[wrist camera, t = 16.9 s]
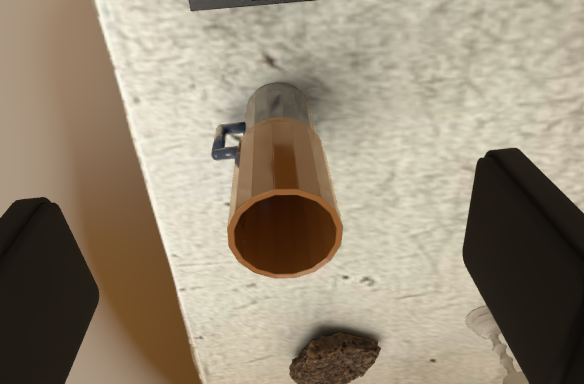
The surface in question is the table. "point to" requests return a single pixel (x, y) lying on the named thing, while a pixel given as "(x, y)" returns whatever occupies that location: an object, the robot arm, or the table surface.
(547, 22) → the table surface
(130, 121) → the table surface
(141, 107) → the table surface
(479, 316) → the chalice
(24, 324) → the robot arm
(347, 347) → the concrete sample
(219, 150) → the mug
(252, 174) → the glass
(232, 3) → the button box
